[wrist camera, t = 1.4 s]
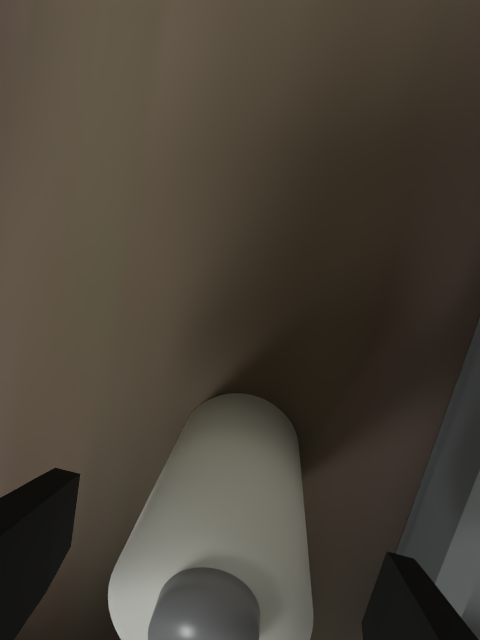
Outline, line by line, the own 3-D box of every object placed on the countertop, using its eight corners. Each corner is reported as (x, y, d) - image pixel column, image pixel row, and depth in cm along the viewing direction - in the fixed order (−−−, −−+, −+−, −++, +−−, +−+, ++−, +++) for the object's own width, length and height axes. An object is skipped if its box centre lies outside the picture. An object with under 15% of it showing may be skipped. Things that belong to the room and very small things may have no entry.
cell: (171, 485, 14) (82, 695, 8) (192, 380, 13) (109, 520, 7) (283, 513, 14) (286, 752, 8) (312, 409, 13) (343, 580, 7)
